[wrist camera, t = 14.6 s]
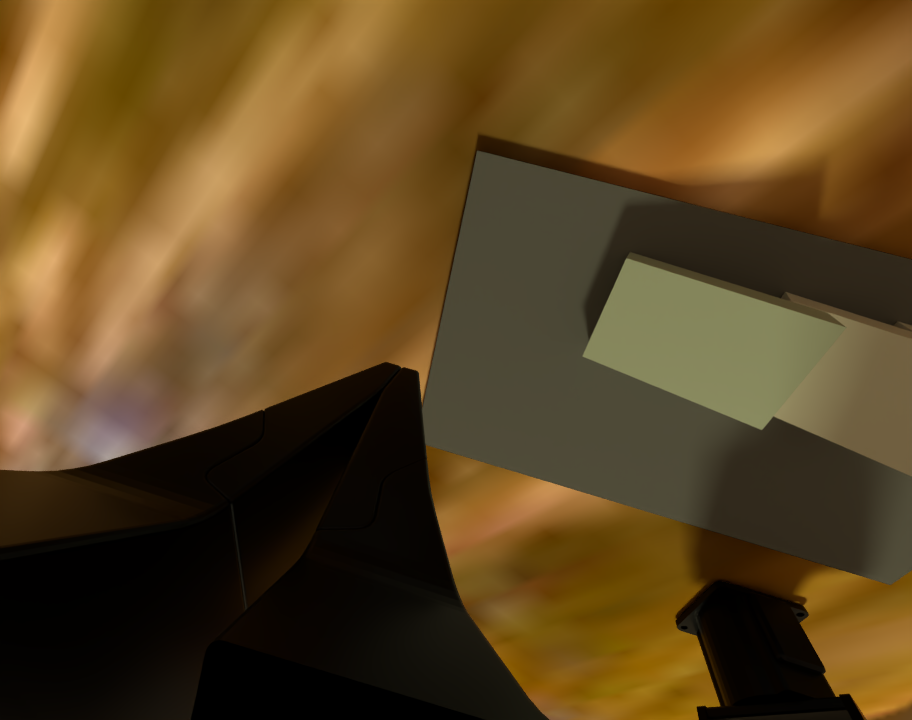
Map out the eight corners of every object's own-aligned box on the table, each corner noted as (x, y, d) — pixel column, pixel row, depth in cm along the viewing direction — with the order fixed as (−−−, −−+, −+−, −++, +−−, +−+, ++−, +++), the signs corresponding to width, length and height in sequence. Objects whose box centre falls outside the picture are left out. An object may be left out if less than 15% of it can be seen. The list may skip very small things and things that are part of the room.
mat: (882, 575, 25) (890, 584, 24) (417, 436, 26) (415, 441, 26) (1219, 336, 16) (1242, 342, 15) (478, 150, 18) (477, 150, 17)
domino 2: (724, 379, 20) (920, 462, 17) (723, 394, 18) (940, 488, 15) (785, 291, 17) (1030, 369, 14) (791, 300, 16) (1067, 389, 13)
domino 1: (589, 343, 20) (753, 408, 18) (582, 356, 19) (761, 430, 16) (630, 251, 18) (827, 313, 15) (626, 258, 16) (846, 327, 14)
